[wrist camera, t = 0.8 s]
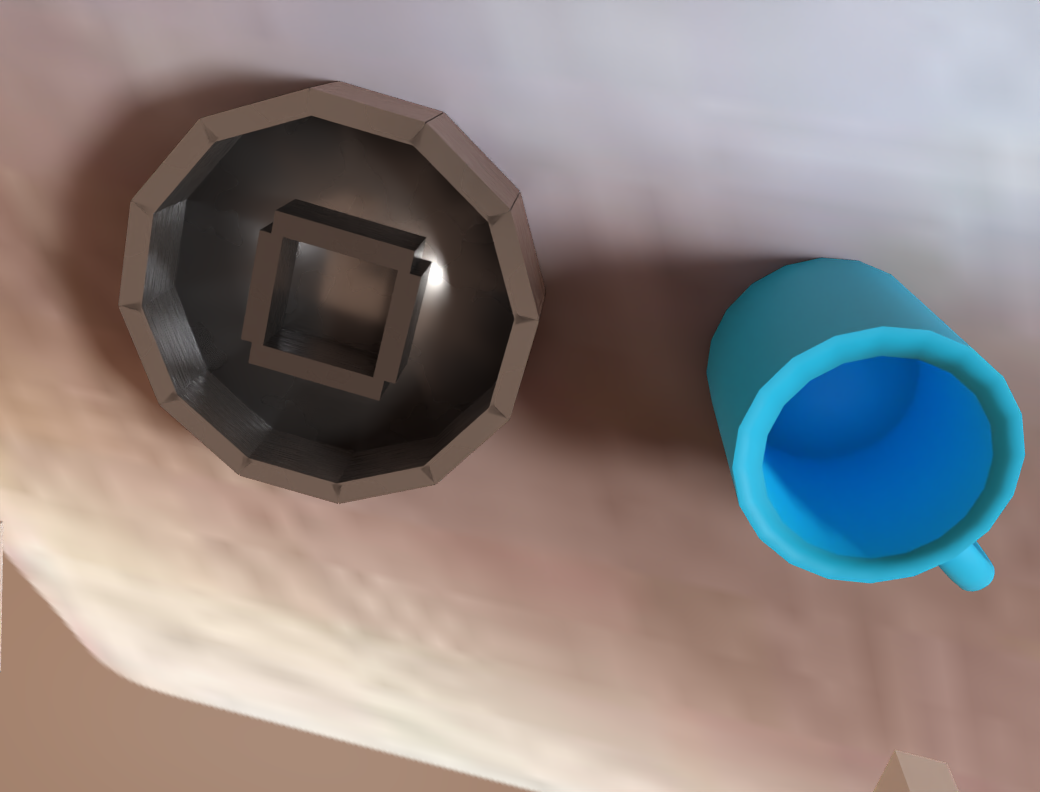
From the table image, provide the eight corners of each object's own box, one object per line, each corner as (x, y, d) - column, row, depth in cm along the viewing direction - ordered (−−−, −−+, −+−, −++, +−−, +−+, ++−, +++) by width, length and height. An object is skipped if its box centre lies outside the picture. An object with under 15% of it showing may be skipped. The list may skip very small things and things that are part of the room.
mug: (661, 352, 36) (675, 442, 28) (849, 209, 33) (920, 266, 26) (849, 572, 38) (908, 708, 31) (1035, 455, 36) (1150, 572, 28)
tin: (195, 38, 33) (149, 40, 30) (586, 154, 33) (583, 169, 30) (146, 400, 38) (102, 436, 35) (484, 498, 38) (473, 542, 35)
